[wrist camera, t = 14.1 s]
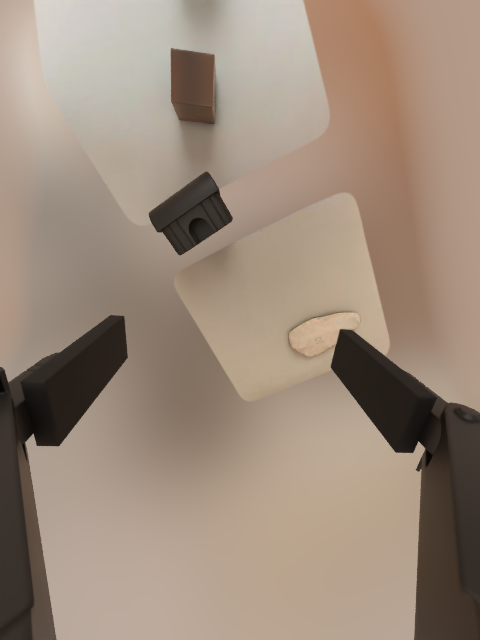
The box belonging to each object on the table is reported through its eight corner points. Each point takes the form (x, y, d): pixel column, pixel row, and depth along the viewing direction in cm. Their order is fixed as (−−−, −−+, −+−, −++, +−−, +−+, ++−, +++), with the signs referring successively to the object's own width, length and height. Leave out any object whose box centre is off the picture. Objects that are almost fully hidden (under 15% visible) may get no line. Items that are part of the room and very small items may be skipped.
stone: (283, 328, 46) (285, 332, 44) (353, 297, 45) (358, 300, 43) (297, 360, 49) (300, 366, 47) (363, 332, 47) (369, 337, 45)
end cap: (209, 176, 37) (205, 165, 30) (234, 219, 39) (235, 217, 33) (156, 214, 38) (142, 211, 32) (183, 253, 40) (175, 258, 34)
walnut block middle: (216, 79, 33) (214, 54, 28) (214, 124, 35) (212, 107, 30) (178, 74, 32) (170, 47, 28) (178, 119, 34) (171, 101, 30)
